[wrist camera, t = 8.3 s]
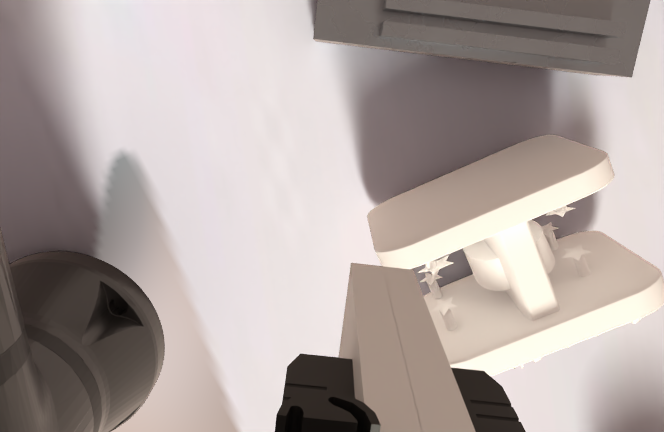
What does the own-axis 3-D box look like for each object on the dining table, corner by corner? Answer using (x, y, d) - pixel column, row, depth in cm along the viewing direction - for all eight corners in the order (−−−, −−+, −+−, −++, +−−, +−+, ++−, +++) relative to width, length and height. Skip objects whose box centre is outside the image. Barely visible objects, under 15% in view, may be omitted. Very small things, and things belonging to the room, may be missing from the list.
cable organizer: (553, 122, 42) (634, 145, 31) (597, 249, 45) (687, 312, 33) (363, 205, 44) (374, 255, 33) (416, 322, 46) (443, 407, 35)
